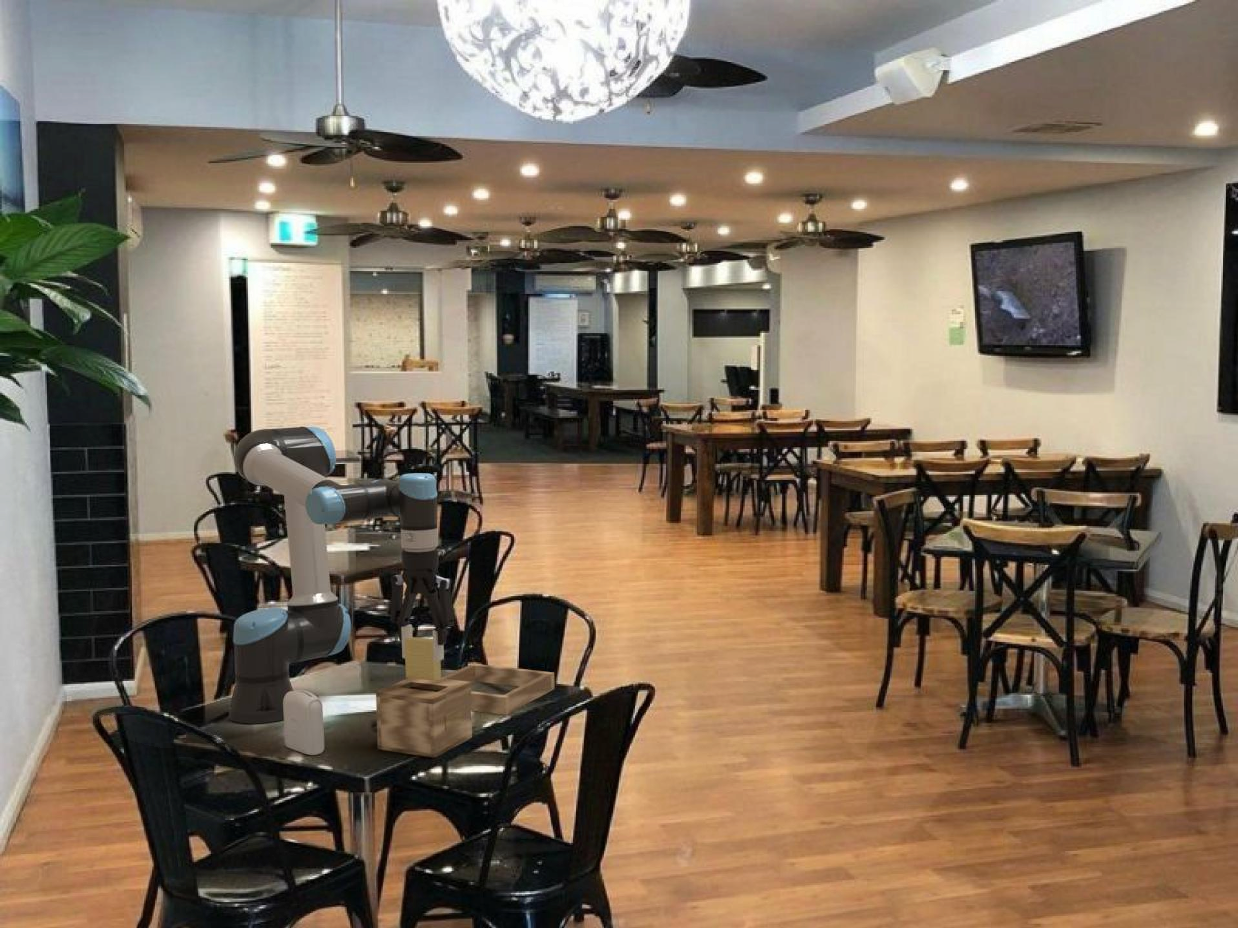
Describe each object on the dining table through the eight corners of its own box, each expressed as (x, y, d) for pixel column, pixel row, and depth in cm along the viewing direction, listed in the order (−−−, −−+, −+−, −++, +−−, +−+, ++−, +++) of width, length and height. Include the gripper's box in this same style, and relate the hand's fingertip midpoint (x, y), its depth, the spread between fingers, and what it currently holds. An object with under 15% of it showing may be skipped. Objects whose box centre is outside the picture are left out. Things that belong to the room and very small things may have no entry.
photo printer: (281, 746, 248) (279, 688, 247) (300, 741, 251) (297, 684, 250) (309, 757, 241) (307, 697, 240) (327, 752, 244) (325, 693, 243)
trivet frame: (420, 703, 277) (419, 686, 277) (473, 679, 298) (472, 663, 298) (505, 714, 268) (505, 697, 267) (554, 688, 288) (554, 672, 288)
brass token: (405, 677, 248) (404, 639, 247) (412, 674, 250) (411, 636, 249) (434, 680, 245) (433, 642, 244) (441, 677, 247) (439, 639, 246)
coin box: (377, 748, 245) (375, 691, 244) (417, 729, 258) (415, 675, 257) (435, 757, 239) (433, 699, 238) (473, 737, 252) (471, 681, 251)
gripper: (369, 548, 246) (372, 657, 248) (450, 554, 238) (453, 667, 240) (390, 543, 253) (394, 649, 255) (470, 548, 244) (473, 658, 246)
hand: (423, 658), depth 247 cm, fingers closed on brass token, 7 cm apart
